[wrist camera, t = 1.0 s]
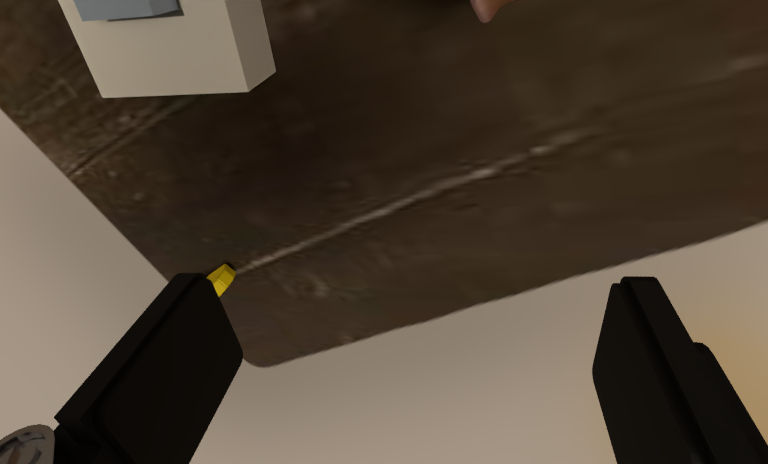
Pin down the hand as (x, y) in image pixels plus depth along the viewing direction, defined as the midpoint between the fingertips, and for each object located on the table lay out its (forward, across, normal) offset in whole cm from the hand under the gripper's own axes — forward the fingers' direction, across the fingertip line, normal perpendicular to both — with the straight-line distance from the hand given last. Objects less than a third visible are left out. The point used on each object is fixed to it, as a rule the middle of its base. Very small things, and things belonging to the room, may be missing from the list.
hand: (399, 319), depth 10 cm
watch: (+28, +26, +22) cm, 44 cm away
